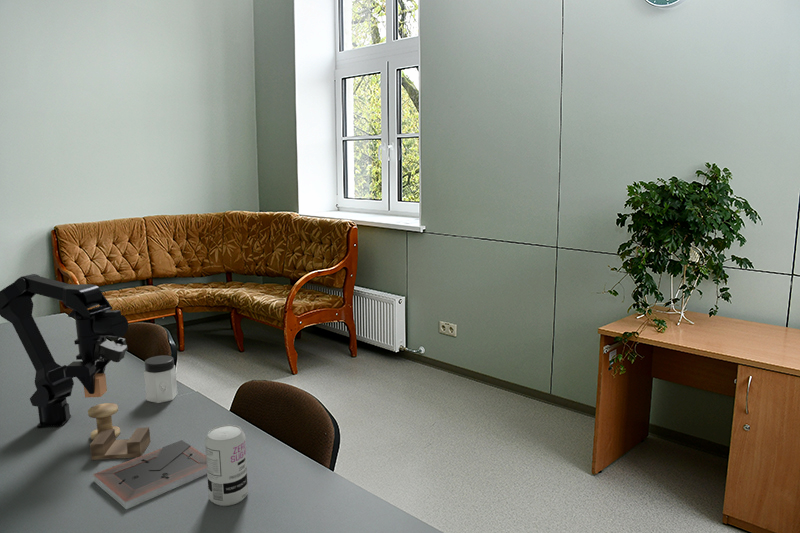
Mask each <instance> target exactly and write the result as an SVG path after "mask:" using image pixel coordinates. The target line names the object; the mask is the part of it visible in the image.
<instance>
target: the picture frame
mask: <svg viewBox="0 0 800 533" xmlns="http://www.w3.org/2000/svg"><path fill="white" fill-rule="evenodd" d="M206 475H207V462H206V454H204V453H203V452H201V451H199V449H196V448H194V447H193V446H191V444H189V443H187V442H186V441H184V440H182V439H181V440H178V441H176V442H173V443H169V444H168V445H165V446H162V447H161V448H159V449H156V450H154V451H151V452H149V453H148V452H147V453H146V454H143V455H142V456H140V457H134V458H131V459H130V460H128V461H124V462H122V463H121V462H120V463H119V464H116V465H114V466H111V467H108V468H105V469H103V470H101V471H97V472H95V473H93V474H92V476H93V482H94V483H95V484H97V486H99V487H100V488H101V489H102V490H103V491H104V492H106V493H107V494H108V495H109V496H110V497H111V498H113V499H114V500H115V501H116V502H117V503H118V504H120V505H121V506H122V507H123V508H124V509H125V510H129V509H130V508H134V507H135V506H137V505H140V504H142V503H145V502H146V501H148V500H151V499H153V498H155V497H158V496H160V495H163V494H164V493H167V492H170V491H172V490H173V489H175V488H178V487H181V486H183V485H185V484H187V483H190V482H192V481H195V480H196V479H198V478H200V477H201V478H202V477H203V476H206Z"/></svg>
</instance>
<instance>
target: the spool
mask: <svg viewBox="0 0 800 533" xmlns="http://www.w3.org/2000/svg"><path fill="white" fill-rule="evenodd" d="M118 411H119V407H118V404H116V403H114V402H113V403H111V402H106V403H104V402H103V403H99V404H96V405H93V406H91V407H90V408H89V409H88V410H87V415H88V417H90V418H92V419H95V420H96V429H94V430H92V431H91V432H90V433H89V434H90V440H91V441H93V440H94V439H95V438H96V436H97V435H98V434H99V433H100V432H101V430H104V429H115V439H116V438H118V437H119V436H120V435H121V428H120V427H119V426H115V425H113V419H112V418H113V417H112V416H113V415H115V414H117V413H118Z"/></svg>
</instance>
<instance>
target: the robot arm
mask: <svg viewBox="0 0 800 533" xmlns="http://www.w3.org/2000/svg"><path fill="white" fill-rule="evenodd" d="M36 295H38V296H42V297H46V298H50V299H54V300H57V301H61V302H62V303H63V305H64V306H66V308H69V309H71V311H70V313H69V314H68V315H67V317H68V318H73V319H74V321H75V328H76V329H75V330H76V337H77V338H76V339H74V340H73V341H74V343H73V344H74V345H77V347H78V354H77V355H76V356H75V358H76V360H77V361H72V362H70V363H69V364H68V365H65V364H64V365H60V364H59V363H57V362H56V361H55V359H54V357H53V355H52V352H51V351H50V349H49V346H48V344H47V343H46V340H45V339H44V337H43V335H42V332H41V331H40V329H39V327H38V325H37V322H36V321H35V319H34V316H33V311H34V310H33V309H34V302H33V297H35V296H36ZM0 317H1V318H2V319H3V320H6V321H7V322H9V323H11V325H12V326H13V328H14V330H15V332H16V334H17V336H18V338H19V341H20V342H21V344H22V346H23V348H24V350H25V352H26V354H27V356H28V358H29V360H30V362H31V364H32V366H33V368H34V369H35V377H34V385H35V386H34V387H35V388H36V390H35V391H34V393H33V394H32V395H31V397H29V401H30V404H31V405H32V406H33V407H37V411H38V412H37V413H38V419H39V422H38V424H37V425H36V428H44V427H45V428H46V427H49V428H51V427H61V426H63V425H64V424H65V423H66V422H67V421H68V420H69V419H70V418H72V414H71V412H70V403H67V402H68V401H67V398H69V397H71V395H72V392H73V387H74V385H75V382H74V378H77V380H78V381H79V382H80V383H81V384H82V386H83V388H84V387H85V388H86V390H87V391H88V392H89V394H94V392H95V375H96V374H101V373H105V372H106V367H107V365H108V364H109V363H111V361H112V362H113V363H119V362H121V360H123V359H124V358H125V355H126V352H127V351H128V349H129V348H128V344H127V342H126V338H123V336H125V335H126V333H127V331H128V330H129V321H128V320H127V317H126V316H125V315H123V314H122V310H120V309H118V310H117V309H116V310H115V309H114V310H113V306H112V305H111V304H110V302H109V301H108V299H107V298H106V297H105V295H104V294H103V292H102V291H101V289H100V287H99V286H98V285H96V284H92V283H91V284H88V283H86V284H85V283H83V284H82V283H81V284H70V283H65V282H64V281H63V282H62V281H59V280H55V279H51V278H48V277H44V276H40V275H39V274H36V273H31V274H26V275H22V276H19V278H18V277H17V279H16V280H15V281H14V282H13V283H11V284H8V285H7V286H6V287H4V288H3V289H1V290H0ZM107 337H109V338H110V337H112V338H118V339H116V341H115V340H111V341H109V340H108V339H107ZM78 360H79V361H78Z"/></svg>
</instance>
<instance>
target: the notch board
mask: <svg viewBox="0 0 800 533" xmlns="http://www.w3.org/2000/svg"><path fill="white" fill-rule="evenodd" d="M91 441H92V442H91V443H90V444H89V449H90V456H91V457H90V458H91V461H95V460H97V461H98V460H111V459H112V460H113V459H135V458H137V457H140V456H143V455H144V453H145V451H146V449H147V448H148V446H149V445H150V443H151V432H150V427H149V426H146V427H145V426H144V427H136V429H135V430H134V432H133V433H132V434H131V436H130V437H129V438H128V439H125V438H124V439H116V438H115V429H104V430H101V432H100V433H99V434H98V435H97V436H96V438H95V439H94V440H91Z"/></svg>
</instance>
